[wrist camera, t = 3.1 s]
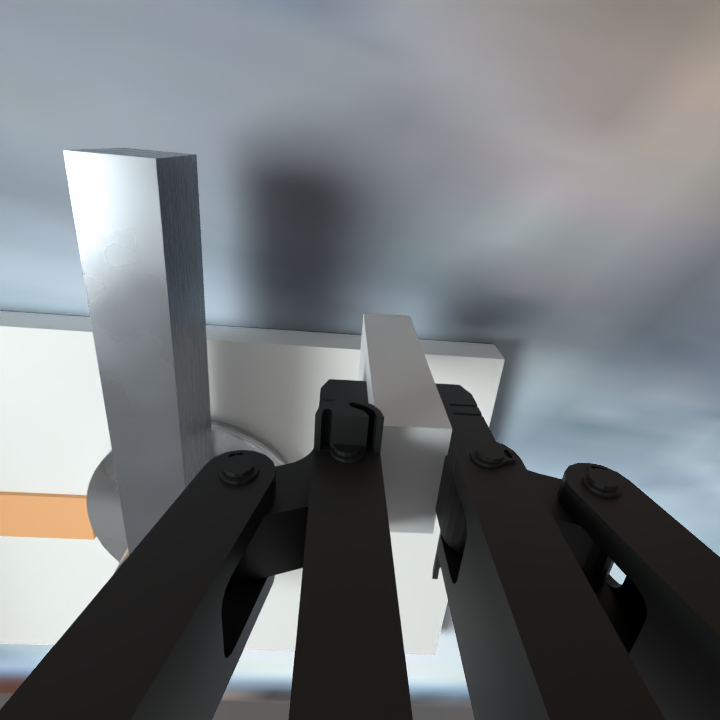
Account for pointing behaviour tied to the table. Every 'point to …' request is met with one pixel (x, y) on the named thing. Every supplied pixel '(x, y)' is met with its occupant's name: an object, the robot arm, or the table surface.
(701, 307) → the table surface
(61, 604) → the base plate
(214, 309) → the table surface
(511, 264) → the table surface
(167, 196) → the grey metal lever
